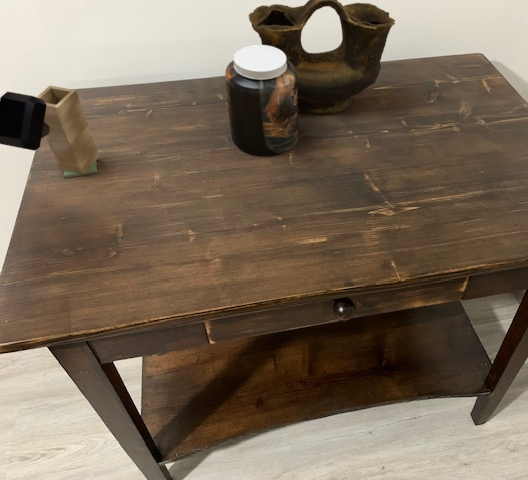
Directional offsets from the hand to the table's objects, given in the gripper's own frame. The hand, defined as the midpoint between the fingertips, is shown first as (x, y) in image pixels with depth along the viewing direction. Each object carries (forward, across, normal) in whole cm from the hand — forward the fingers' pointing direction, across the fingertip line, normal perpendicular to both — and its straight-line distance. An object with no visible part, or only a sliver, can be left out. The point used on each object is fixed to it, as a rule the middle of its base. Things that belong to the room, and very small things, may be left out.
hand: (18, 124), depth 72 cm
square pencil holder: (+15, 0, +4) cm, 15 cm away
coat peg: (+15, 0, +4) cm, 16 cm away
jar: (+27, -26, -7) cm, 38 cm away
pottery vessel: (+36, -33, -17) cm, 52 cm away
